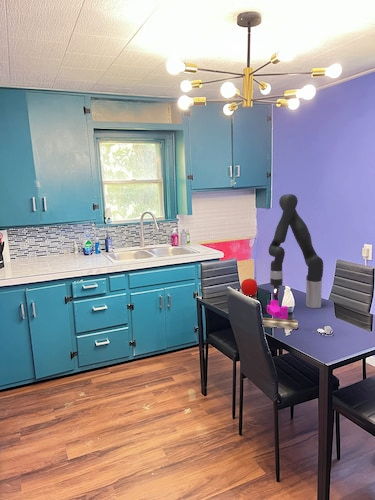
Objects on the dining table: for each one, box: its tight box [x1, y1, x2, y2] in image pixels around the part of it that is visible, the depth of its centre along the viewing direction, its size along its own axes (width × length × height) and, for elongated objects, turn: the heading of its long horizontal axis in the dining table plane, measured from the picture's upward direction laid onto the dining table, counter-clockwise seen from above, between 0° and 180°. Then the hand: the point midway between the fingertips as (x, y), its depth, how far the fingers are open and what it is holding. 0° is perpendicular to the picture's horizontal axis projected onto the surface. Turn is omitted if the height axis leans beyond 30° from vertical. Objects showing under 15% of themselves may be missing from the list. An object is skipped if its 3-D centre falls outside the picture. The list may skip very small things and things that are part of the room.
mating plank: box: [262, 317, 299, 330], centre depth 209 cm, size 20×4×4 cm, turn 69°
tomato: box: [240, 278, 258, 297], centre depth 265 cm, size 12×12×13 cm
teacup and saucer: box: [316, 325, 333, 335], centre depth 197 cm, size 9×8×4 cm
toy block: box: [266, 299, 289, 320], centre depth 226 cm, size 15×6×8 cm, turn 14°
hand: (276, 303), depth 236 cm, fingers closed
